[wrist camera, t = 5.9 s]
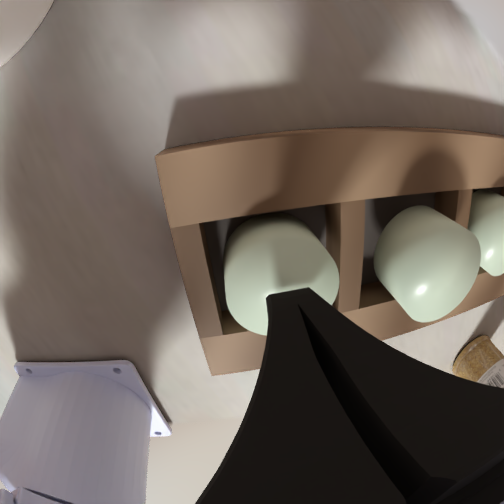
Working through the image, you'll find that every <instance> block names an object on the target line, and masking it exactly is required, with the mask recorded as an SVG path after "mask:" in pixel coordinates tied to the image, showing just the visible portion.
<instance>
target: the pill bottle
mask: <svg viewBox="0 0 504 504" xmlns="http://www.w3.org/2000/svg"><path fill="white" fill-rule="evenodd" d="M53 1H54V0H0V67H1V66H3V65H4V64H5V63H7V62H8V61H9V60H10V59H11V58H12V57H13V56H14V55H15V54H16V53H17V52H18V51H19V50H20V49H21V48H22V47H23V46H24V45H25V43H26V42H27V41H28V40H29V39H30V38H31V36H32V35H33V33H34V32H35V31H36V29H37V28H38V27H39V25H40V24H41V22H42V21H43V19H44V17H45V16H46V14H47V13H48V11H49V9H50V7H51V5H52V3H53Z"/></svg>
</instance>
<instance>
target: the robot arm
mask: <svg viewBox="0 0 504 504" xmlns="http://www.w3.org/2000/svg"><path fill="white" fill-rule="evenodd" d="M266 305H267V314H268V329H267V338H266V345H265V350H264V355H263V359H262V364H261V368H260V372H259V376H258V379H257V383H256V386H255V389H254V392H253V395H252V398H251V401H250V403H249V406H248V408H247V411H246V413H245V416H244V418H243V421H242V423H241V425H240V428H239V430H238V432H237V434H236V436H235V438H234V440H233V442H232V444H231V446H230V448H229V450H228V452H227V453H226V455H225V458H224V459H223V461H222V463H221V465H220V466H219V468H218V470H217V471H216V473H215V474H214V476H213V478H212V479H211V481H210V482H209V484H208V485H207V487H206V488H205V490H204V491H203V493H202V494H201V496H200V497H199V499H198V500H197V502H196V503H195V504H504V388H500V387H495V386H490V385H485V384H481V383H478V382H474V381H471V380H468V379H464V378H461V377H458V376H455V375H452V374H449V373H446V372H444V371H441V370H439V369H436V368H434V367H432V366H429V365H427V364H424V363H422V362H420V361H418V360H416V359H414V358H412V357H410V356H408V355H406V354H404V353H402V352H400V351H398V350H396V349H394V348H392V347H391V346H389V345H387V344H386V343H384V342H382V341H381V340H379V339H377V338H376V337H374V336H373V335H371V334H370V333H368V332H367V331H365V330H364V329H362V328H361V327H359V326H358V325H357V324H355V323H354V322H353V321H351V320H350V319H348V318H347V317H346V316H344V315H343V314H342V313H340V312H339V311H338V310H337V309H335V308H334V307H333V306H332V305H330V304H329V303H328V302H327V301H325V300H324V299H323V298H322V297H321V296H319V295H318V294H317V293H316V292H314V291H313V290H312V289H311V288H309V287H307V288H301V289H296V290H291V291H285V292H280V293H274V294H269V295H268V296H267V297H266ZM118 368H119V369H118ZM14 369H15V371H16V372H17V373H18V375H19V376H20V377H19V379H18V381H17V383H16V385H15V387H14V389H13V392H12V394H11V396H10V398H9V400H8V403H7V405H6V407H5V409H4V412H3V414H2V417H1V419H0V480H1V482H2V483H3V484H4V486H5V487H6V488H7V489H8V490H9V491H10V492H11V493H10V492H8V491H7V490H5V489H1V490H0V504H145V500H146V481H147V465H148V452H149V441H150V436H169V435H171V434H172V429H171V427H170V426H169V424H168V423H167V421H166V420H165V418H164V416H163V415H162V413H161V412H160V410H159V408H158V407H157V405H156V403H155V402H154V400H153V398H152V397H151V395H150V393H149V392H148V390H147V388H146V386H145V385H144V383H143V381H142V379H141V377H140V376H139V374H138V372H137V370H136V368H135V366H134V365H133V363H131V362H130V361H127V360H113V361H93V362H16V363H15V365H14Z"/></svg>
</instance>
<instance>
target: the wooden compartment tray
mask: <svg viewBox="0 0 504 504" xmlns="http://www.w3.org/2000/svg"><path fill="white" fill-rule="evenodd" d="M155 160H156V165H157V170H158V175H159V180H160V185H161V190H162V195H163V199H164V204H165V209H166V213H167V218H168V222H169V226H170V230H171V235H172V239H173V243H174V247H175V251H176V255H177V259H178V263H179V267H180V271H181V274H182V278H183V282H184V286H185V289H186V293H187V297H188V300H189V304H190V307H191V311H192V314H193V318H194V321H195V324H196V328H197V331H198V334H199V338H200V341H201V344H202V347H203V350H204V354H205V357H206V360H207V363H208V366H209V369H210V372H211V375H212V376H215V375H223V374H230V373H237V372H243V371H250V370H256V369H260V368H261V364H262V359H263V355H264V350H265V345H266V338H267V336H266V335H260V334H257V333H254V332H252V331H249V330H248V329H246V328H244V327H243V326H241V325H240V324H239V323H238V322H237V321H236V320H235V319H234V317H233V316H232V315H231V313H230V311H229V309H228V306H227V302H226V293H225V281H224V269H223V253H224V249H225V246H226V243H227V241H228V239H229V237H230V236H231V234H232V233H233V232H234V231H235V230H236V228H237V227H239V226H240V225H241V224H242V223H244V222H245V221H247V220H248V219H250V218H252V217H255V216H258V215H261V214H265V213H284V214H288V215H291V216H294V217H296V218H298V219H300V220H301V221H303V222H304V223H305V224H306V225H307V226H308V227H309V228H310V229H311V231H312V232H313V233H314V235H315V236H316V237H317V238H318V240H319V241H320V242H321V244H322V245H323V246H324V247H325V249H326V250H327V251H328V253H329V254H330V255H331V257H332V258H333V260H334V261H335V263H336V266H337V268H338V272H339V289H338V293H337V296H336V298H335V301H334V302H333V304H332V306H333V307H334V308H335V309H337V310H338V311H339V312H340V313H342V314H343V315H344V316H346V317H347V318H348V319H350V320H351V321H353V322H354V323H355V324H357V325H358V326H359V327H361V328H362V329H364V330H365V331H367V332H368V333H370V334H371V335H373V336H374V337H376V338H377V339H379V340H381V341H382V340H385V339H388V338H392V337H395V336H398V335H401V334H404V333H408V332H411V331H414V330H417V329H420V328H423V327H425V326H428V325H431V324H434V323H437V322H439V321H442V320H445V319H448V318H450V317H453V316H455V315H458V314H461V313H463V312H466V311H468V310H471V309H473V308H475V307H478V306H480V305H483V304H485V303H487V302H490V301H492V300H494V299H496V298H499V297H501V296H503V295H504V273H503V274H502V275H499V276H492V275H490V274H489V273H488V272H487V271H485V270H484V269H483V268H482V267H479V271H478V274H477V277H476V280H475V282H474V284H473V286H472V288H471V289H470V291H469V292H468V294H467V295H466V297H465V298H464V299H463V301H462V302H461V303H460V304H459V305H458V306H457V307H456V308H455V309H454V310H452V311H451V312H450V313H448V314H447V315H445V316H444V317H442V318H440V319H437V320H435V321H431V322H418V321H415V320H413V319H412V318H411V317H410V316H409V315H408V314H407V313H406V311H405V310H404V309H403V308H402V307H401V305H400V304H399V303H398V302H397V301H396V299H395V298H394V297H393V296H392V295H391V293H390V292H389V291H388V290H387V289H386V288H385V286H384V285H383V284H382V283H381V282H380V281H379V279H378V278H377V275H376V273H375V270H374V252H375V248H376V244H377V242H378V239H379V237H380V235H381V233H382V231H383V230H384V228H385V227H386V225H387V224H388V223H389V222H390V221H391V220H392V219H393V218H394V217H395V216H396V215H397V214H399V213H400V212H401V211H403V210H405V209H407V208H410V207H412V206H418V205H423V206H428V207H431V208H432V209H434V210H436V211H438V212H439V213H441V214H443V215H445V216H446V217H448V218H450V219H451V220H453V221H455V222H456V223H458V224H460V225H461V226H463V227H464V228H466V229H467V228H468V221H469V214H470V207H471V198H472V194H473V193H474V192H476V191H477V190H480V189H489V190H491V191H493V192H495V193H497V194H499V195H501V196H503V197H504V135H497V134H489V133H481V132H472V131H462V130H450V129H435V128H414V127H345V128H323V129H307V130H294V131H283V132H273V133H264V134H255V135H247V136H239V137H232V138H225V139H219V140H212V141H206V142H200V143H195V144H189V145H184V146H178V147H173V148H168V149H164V150H163V151H161V152H160V153H159V154H157V155H156V156H155Z"/></svg>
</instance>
